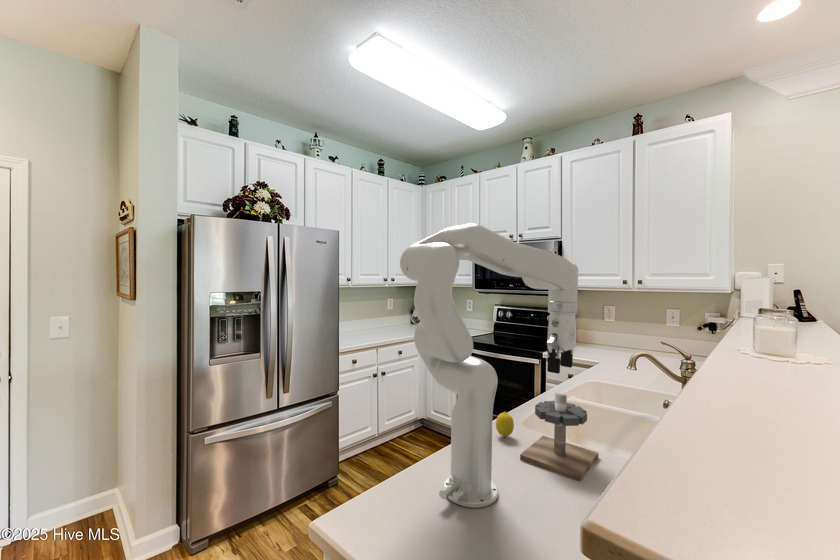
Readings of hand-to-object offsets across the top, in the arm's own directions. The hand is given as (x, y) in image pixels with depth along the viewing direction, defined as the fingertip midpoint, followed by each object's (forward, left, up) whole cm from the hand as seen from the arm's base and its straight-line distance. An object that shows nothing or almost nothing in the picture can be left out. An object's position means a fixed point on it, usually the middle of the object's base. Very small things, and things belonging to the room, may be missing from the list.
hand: (560, 369), depth 102 cm
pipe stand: (+1, 0, -25) cm, 25 cm away
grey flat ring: (+1, 0, -13) cm, 13 cm away
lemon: (+3, +18, -25) cm, 31 cm away
